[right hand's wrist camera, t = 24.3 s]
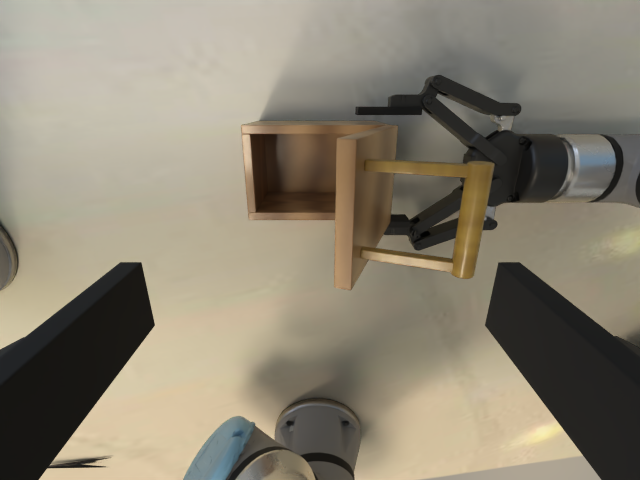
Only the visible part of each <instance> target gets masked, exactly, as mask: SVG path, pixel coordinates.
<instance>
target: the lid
mask: <svg viewBox="0 0 640 480" xmlns="http://www.w3.org/2000/svg"><path fill="white" fill-rule="evenodd" d="M397 132H398V126H397V125H385V126H381V127H378V128H374V129H370V130H367V131H363V132H359V133H356V134H352V135H348V136H344V137H341V138H337V154H336V213H335V271H334V287H335V288H341V289H346V290H351V289H352V288H353V286H354V284H355V282H356V281H357V279H358V277H359V276H360V274H361V272H362V270H363V269H364V267H365V265H366V263H367V262H368V260H374V261H380V262H387V263H393V264H400V265H407V266H413V267H420V268H426V269H433V270H440V271H446V272H451V274H452V275H454V276H455V277H458V278H463V279H469V278H472V277H473V276H474V272H475V267H476V262H477V256H478V251H479V246H480V240H481V235H482V230H483V224H484V219H485V214H486V208H487V203H488V198H489V192H490V187H491V182H492V176H493V171H494V166H495V165H494V163H492V162H486V161H470V162H468V163H467V164H460V163H441V162H422V161H402V160H395V157H396V145H397ZM394 173H401V174H417V175H433V176H448V177H464V178H465V182H464V188H463V194H462V201H461V207H460V213H459V220H458V226H457V232H456V239H455V245H454V251H453V258H452V259H450V258H443V257H436V256H429V255H422V254H414V253H407V252H400V251H393V250H386V249H378V248H376V246H377V244H378V243H379V241H380V239H381V237H382V236H383V234H384V232H385V230H386V229H387V227H388V225H389V224H390V219H391V207H392V194H393V182H394Z"/></svg>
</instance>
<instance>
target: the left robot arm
mask: <svg viewBox="0 0 640 480" xmlns="http://www.w3.org/2000/svg"><path fill="white" fill-rule="evenodd" d="M437 93H438V94H440V95H442V96H445V97H447V98H449V99H451V100H453V101H456V102H458V103H460V104H462V105H464V106H467V107H469V108H471V109H473V110H475V111H478V112H480V113H483V114H486V115H491V116H490V120H491V122H493V123H495V124H497V126H498V130H496V131H494V132H493V133H491V134H490V135H488V136H487V137H485V138H484V137H483V136H482V135H480V134H478V133H477V132H475V131H474V130H473V129H472V128H471V127H469V126H468V125H467V124H466V123H465V122H464V121H462V120H461V119H460V118H459V117H458V116H456V115H455V114H454V113H453V112H452V111H451V110H449V109H448V108H447V107H446V106H445V105H443V104H442V103H441V102H440V101H439V100H438V99H436V96H437ZM422 109H423V110H424V111H425V112H426V113H428V114H429V115H430V116H431V117H432V118H434V119H435V120H436V121H437V122H438V123H440V124H441V125H442V126H443V127H445V128H446V129H447V130H448V131H449V132H451V133H452V134H453V135H454V136H455V137H457V138H458V139H459V140H460V141H461V142H462V143H463V144H464V145H465V146H466V147H468V148H469V150H468V151H467V153H466V154H464V159H463V163H464V164H467V163H468V162H470V161H486V162H492V163H494V165H495V166H494V171H493V176H492V182H491V187H490V192H489V198H488V203H487V208H486V214H485V219H484V224H483V230H493V229H495V228H496V227H497V221H495V220H494V214H495V208H496V206H498V205H500V204H502V203H542V202H549V203H571V202H609V203H624V204H629V205H632V206H635V207H638V208H640V134H629V135H599V134H558V135H553V134H515V133H514V132H512V131H511V128H512V124H513V119H514V116H516V115H518V114H519V113H520V111H521V106H520V105H519V104H517V103H499V102H497V101H495V100H493V99H491V98H489V97H486V96H484V95H482V94H480V93H478V92H476V91H473V90H471V89H469V88H467V87H465V86H463V85H461V84H458V83H456V82H454V81H452V80H450V79H448V78H445V77H443V76H441V75H436V76H432V77H429V78H427V79H426V81H425V86H424V88H423V90H422V92H421V93H420V94H418V95H393V96H390V97H388V107H356V114H357V115H422ZM460 181H461V182H462V185H461V186H459V187H458V188H456V189H455V190H453V192H452V193H451V194H450V195H448V196H446V197H445V198H443V199H442V200H440V201H439V202H437V203H435V204H434V205H432V206H431V207H429V208H427V209H426V210H424V211H423V212H421V213H420V214H418V215H416V216H415V217H413V218H412V219H410V220H409V219H408V218H407V216H406V215H391V219H390V224H389V225H388V227H387V229H386V230H385V232H384V235H407V236H408V237H409V241H410V243H411V244H412V246H413V247H414V249H415V250H422V249H425V248H428V247H430V246H433V245H436V244H439V243H442V242H445V241H448V240H450V239H453V238H456V232H457V226H458V220H459V218H456V219H454V220H451V221H448V222H445V223H442V224H440V225H437V226H434V225H435V224H437V223H439V222H440V221H442V220H443V219H445V218H447V217H448V216H450V215H452V214H453V213H455V212H456V211H458V210H460V207H461V201H462V194H463V188H464V182H465V178H464V177H461V178H460ZM432 226H434V227H432ZM430 227H431V228H430ZM360 441H361V432H360V425H359V421H358V419H357V417H356V415H355V414H354V413H353V412H352V411H351V410H350V409H349V408H348V407H346V406H345V405H343V404H341V403H339V402H336V401H333V400H328V399H318V398H317V399H307V400H303V401H300V402H297V403H295V404H293V405H291V406H289V407H288V408H287V409H285V410H284V411H283V412H282V413H281V415H280V416H279V418H278V420H277V423H276V429H275V440H273V439H272V438H271V437H269V436H268V435H266V434H265V433H264V432H263V431H261V430H260V429H259V428H257V427H256V426H255V423H254V422H250V421H248V420H247V419H245V418H244V417H241V416H236V417H232V418H230V419H229V420H227V421H226V422H224V423H223V424H222V425H221V426H220V427H219V428H218V429H217V430H216V431H215V432H214V433H213V434H212V435H211V436H210V437H209V439H208V440H207V441H206V442H205V444H204V445H203V446H202V448H201V449H200V451H199V452H198V454H197V455H196V457H195V458H194V460H193V462H192V463H191V465H190V467H189V469H188V471H187V472H186V475H185V477H184V479H183V480H354V469H355V465H356V460H357V456H358V451H359V447H360Z"/></svg>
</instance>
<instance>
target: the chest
mask: <svg viewBox="0 0 640 480" xmlns="http://www.w3.org/2000/svg"><path fill="white" fill-rule="evenodd" d="M385 125H388V124H384V123H381V122H377V121H256V122H252V123H248V124H244V125H241V131H242V144H243V156H244V168H245V180H246V193H247V205H248V217H249V220H335V213H336V154H337V138H341V137H344V136H348V135H352V134H356V133H359V132H363V131H367V130H370V129H374V128H378V127H381V126H385Z"/></svg>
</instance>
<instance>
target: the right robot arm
mask: <svg viewBox="0 0 640 480" xmlns="http://www.w3.org/2000/svg"><path fill="white" fill-rule="evenodd" d="M16 271H17V256H16V252H15V248H14V246H13V244H12V241H11V240H10V238H9V236H8V235H7V233H6V232H5V230H4V229H3V228H2V227H1V226H0V291H1V290H3V289H4V288H6V287H7V286H8V285H9V284H10V283H11V282H12V280H13V278H14V276H15V274H16ZM154 326H155V324H154V319H153V314H152V310H151V305H150V300H149V296H148V291H147V287H146V282H145V277H144V273H143V268H142V263H141V262H120V263H119V264H118V265H117V266H115V267H114V268H113V269H111V270H110V271H109V272H108V273H106V274H105V275H104V276H103V277H101V278H100V279H99V280H97V281H96V282H95V283H94V284H92V285H91V286H90V287H89V288H87V289H86V290H85V291H83V292H82V293H81V294H80V295H78V296H77V297H76V298H74V299H73V300H72V301H71V302H69V303H68V304H67V305H66V306H64V307H63V308H62V309H60V310H59V311H58V312H57V313H55V314H54V315H53V316H52V317H50V318H49V319H48V320H46V321H45V322H44V323H43V324H41V325H40V326H39V327H37V328H36V329H35V330H34V331H32V332H31V333H30V334H29V335H27V336H26V337H23V338H21V339H20V340H18V341H16V342H14V343H12V344H10V345H8V346H6V347H4V348H2V349H0V480H39V478H40V477H41V476H42V474H43V473H44V472H45V470H46V469H47V468H48V466H49V465H50V464H51V462H52V461H53V460H54V458H55V457H56V456H57V454H58V453H59V452H60V450H61V449H62V448H63V446H64V445H65V444H66V442H67V441H68V440H69V439H70V437H71V436H72V435H73V433H74V432H75V431H76V429H77V428H78V427H79V425H80V424H81V423H82V421H83V420H84V419H85V417H86V416H87V415H88V413H89V412H90V411H91V409H92V408H93V407H94V405H95V404H96V403H97V401H98V400H99V399H100V397H101V396H102V395H103V393H104V392H105V391H106V389H107V388H108V387H109V385H110V384H111V383H112V381H113V380H114V379H115V377H116V376H117V375H118V373H119V372H120V371H121V370H122V368H123V367H124V366H125V364H126V363H127V362H128V360H129V359H130V358H131V356H132V355H133V354H134V352H135V351H136V350H137V348H138V347H139V346H140V344H141V343H142V342H143V340H144V339H145V338H146V336H147V335H148V334H149V332H150V331H151V330H152V328H153V327H154ZM485 326H486V327H487V328H488V330H489V331H490V332H491V334H492V335H493V336H494V338H495V339H496V340H497V342H498V343H499V344H500V346H501V347H502V348H503V350H504V351H505V352H506V354H507V355H508V356H509V358H510V359H511V360H512V362H513V363H514V364H515V366H516V367H517V368H518V370H519V371H520V372H521V373H522V375H523V376H524V377H525V379H526V380H527V381H528V383H529V384H530V385H531V387H532V388H533V389H534V391H535V392H536V393H537V395H538V396H539V397H540V399H541V400H542V401H543V403H544V404H545V405H546V407H547V408H548V409H549V411H550V412H551V413H552V415H553V416H554V417H555V419H556V420H557V421H558V423H559V424H560V425H561V427H562V428H563V429H564V431H565V432H566V433H567V435H568V436H569V437H570V439H571V440H572V441H573V442H574V444H575V445H576V446H577V448H578V449H579V450H580V452H581V453H582V454H583V456H584V457H585V458H586V460H587V461H588V462H589V464H590V465H591V466H592V468H593V469H594V470H595V472H596V473H597V474H598V476H599V477H600V478H601V480H640V348H639V347H637V346H635V345H633V344H631V343H629V342H627V341H625V340H623V339H621V338H619V337H618V336H613V335H611V334H610V333H609V332H608V331H606V330H605V329H604V328H603V327H601V326H600V325H599V324H597V323H596V322H595V321H594V320H592V319H591V318H590V317H588V316H587V315H586V314H585V313H583V312H582V311H581V310H580V309H578V308H577V307H576V306H574V305H573V304H572V303H571V302H569V301H568V300H567V299H566V298H564V297H563V296H562V295H560V294H559V293H558V292H557V291H555V290H554V289H553V288H551V287H550V286H549V285H548V284H546V283H545V282H544V281H543V280H541V279H540V278H539V277H537V276H536V275H535V274H534V273H532V272H531V271H530V270H529V269H527V268H526V267H525V266H523V265H522V264H521V263H520V262H499V263H498V268H497V273H496V277H495V282H494V286H493V291H492V296H491V300H490V305H489V310H488V314H487V319H486V324H485Z"/></svg>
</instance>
